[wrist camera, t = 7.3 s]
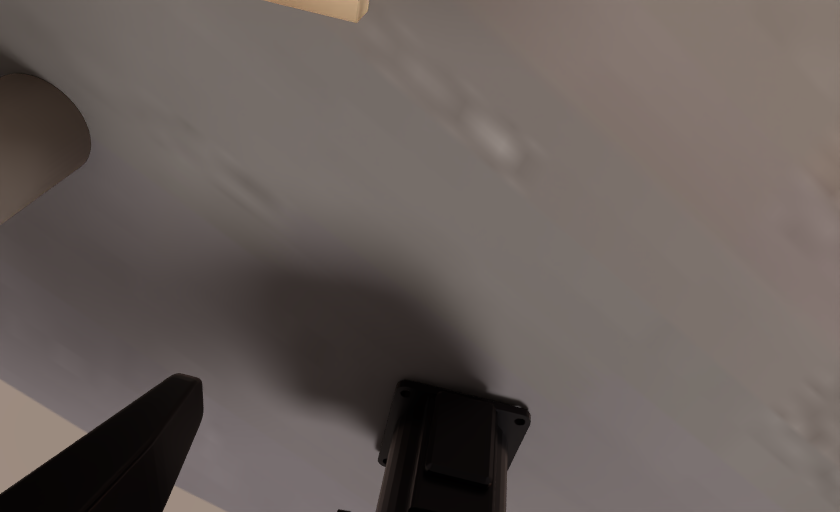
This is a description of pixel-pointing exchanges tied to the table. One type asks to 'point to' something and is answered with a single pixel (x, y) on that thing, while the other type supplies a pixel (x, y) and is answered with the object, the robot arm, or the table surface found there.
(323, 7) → the maple picture frame
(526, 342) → the table surface
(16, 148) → the pepper shaker
